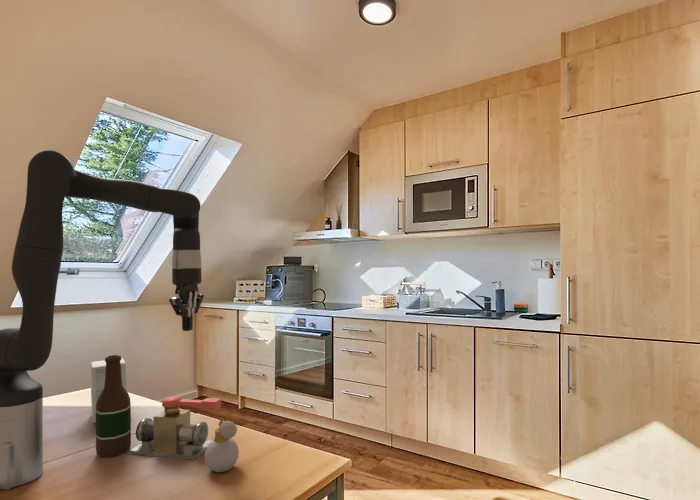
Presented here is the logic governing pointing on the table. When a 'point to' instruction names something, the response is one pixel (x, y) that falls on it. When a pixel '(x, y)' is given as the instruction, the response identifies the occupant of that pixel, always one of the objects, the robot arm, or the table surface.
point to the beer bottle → (113, 413)
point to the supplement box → (101, 381)
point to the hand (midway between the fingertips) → (187, 330)
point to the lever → (192, 402)
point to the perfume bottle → (222, 448)
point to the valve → (171, 435)
